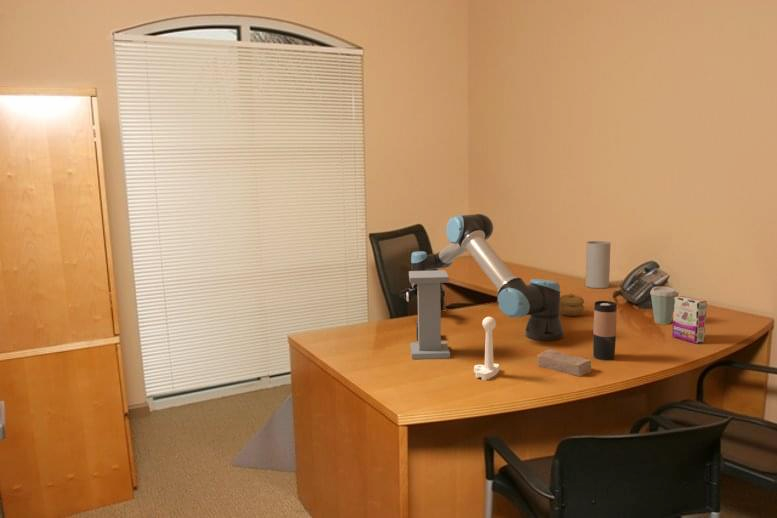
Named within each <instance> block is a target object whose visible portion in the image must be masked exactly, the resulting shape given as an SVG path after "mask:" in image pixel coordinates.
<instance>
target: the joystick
mask: <svg viewBox="0 0 777 518" xmlns="http://www.w3.org/2000/svg"><path fill="white" fill-rule="evenodd" d="M481 325H482V327H483V329H484V331H485V345H484V364H476V365H473V373H475V378H477V379H479V378H481V380H482V381H488V380H490V378H491V377H493V376H494V377H496V376H497V375H498V374H499V372H500V364H499V363H494V344H493V341H494V339H493V330H494V329H495V328H496V326H497V323H496V319H495V318H494V317H492V316H487V317H485V318H484V319H483V320H482V323H481ZM497 373H498V374H497ZM496 374H497V375H496ZM495 375H496V376H495ZM494 377H493V378H494ZM487 379H488V380H487ZM491 379H492V378H491Z"/></svg>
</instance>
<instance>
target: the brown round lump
mask: <svg viewBox="0 0 777 518" xmlns="http://www.w3.org/2000/svg"><path fill="white" fill-rule="evenodd" d="M584 304H585V300H584V299H583V297H581V296H580V295H576V294H573V293H569V294H564V295H560V312H559V314H562V315H564V316H567V317H576V316H577V317H578V316H579V315H581V314H582V313H583V312H584V310H585V306H584Z"/></svg>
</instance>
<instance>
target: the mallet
mask: <svg viewBox="0 0 777 518" xmlns="http://www.w3.org/2000/svg"><path fill="white" fill-rule="evenodd" d="M415 329H416V330H415V336H416V342H418V321H417V322H415Z"/></svg>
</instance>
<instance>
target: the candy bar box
mask: <svg viewBox="0 0 777 518" xmlns="http://www.w3.org/2000/svg"><path fill="white" fill-rule="evenodd" d="M707 303H708V301H707V300H704V299H700V298H699V299H698V298H694V297H690V296H689V297H688V296H683V295H681V296H676V297H674V309H673V315H672V318H673V319H672V333H671V334H672V338H675V339H679V340H682V341H685V342H689V343H692V344H695V345H696V344H701V343H702V344H703V343H705V340H706V338H705V337H706V336H705V335H706V322H707V321H706V319H707V306H708V304H707Z"/></svg>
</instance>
